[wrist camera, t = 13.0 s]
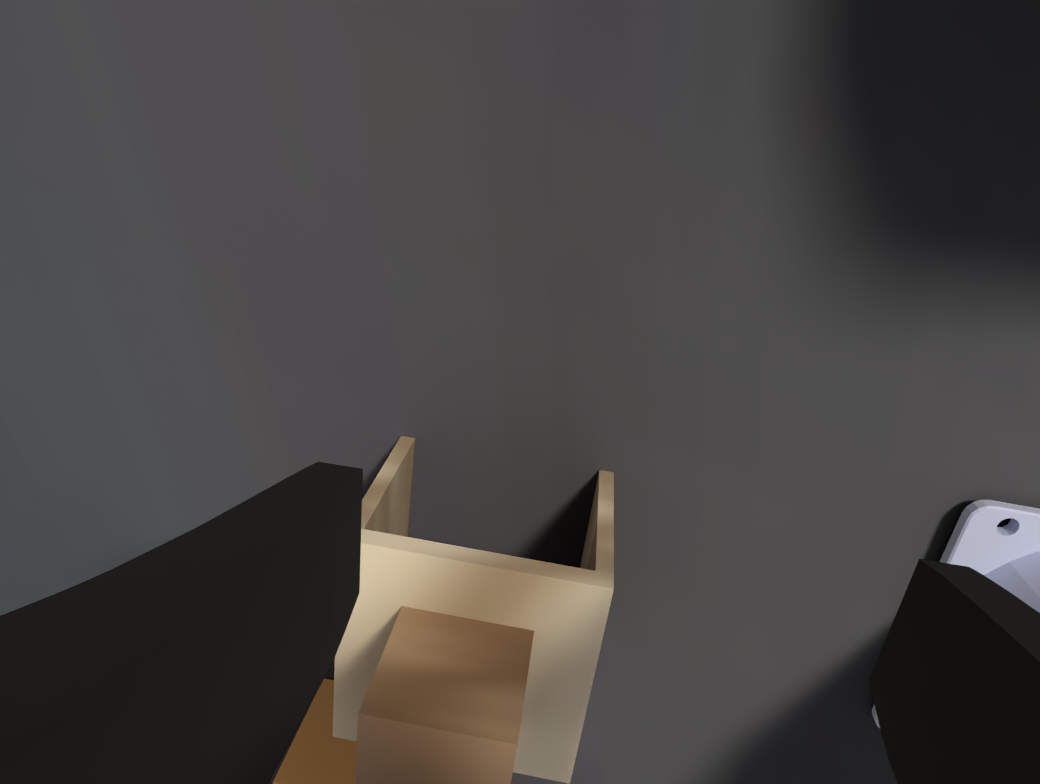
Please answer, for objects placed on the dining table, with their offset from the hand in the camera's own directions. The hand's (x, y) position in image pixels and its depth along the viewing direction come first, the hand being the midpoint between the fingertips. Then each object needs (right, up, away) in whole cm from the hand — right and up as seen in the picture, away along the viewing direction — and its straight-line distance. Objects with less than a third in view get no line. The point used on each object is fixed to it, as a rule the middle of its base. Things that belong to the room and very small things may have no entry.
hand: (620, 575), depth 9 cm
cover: (-2, -2, +12) cm, 12 cm away
